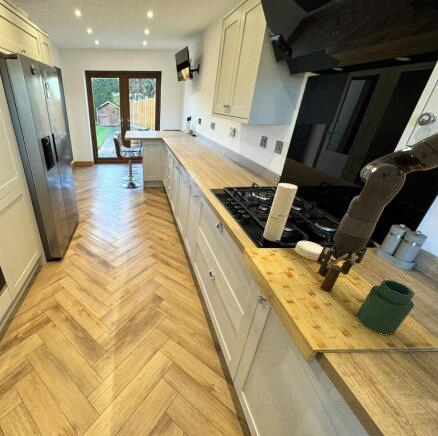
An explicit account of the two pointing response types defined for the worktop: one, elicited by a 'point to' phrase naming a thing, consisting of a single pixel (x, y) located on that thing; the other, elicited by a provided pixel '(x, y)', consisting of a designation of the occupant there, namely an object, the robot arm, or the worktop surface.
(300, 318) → the worktop surface
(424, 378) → the worktop surface
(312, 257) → the cream round disc
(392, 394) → the worktop surface
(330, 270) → the dark brown cylinder
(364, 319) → the green jar
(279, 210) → the cylindrical container
